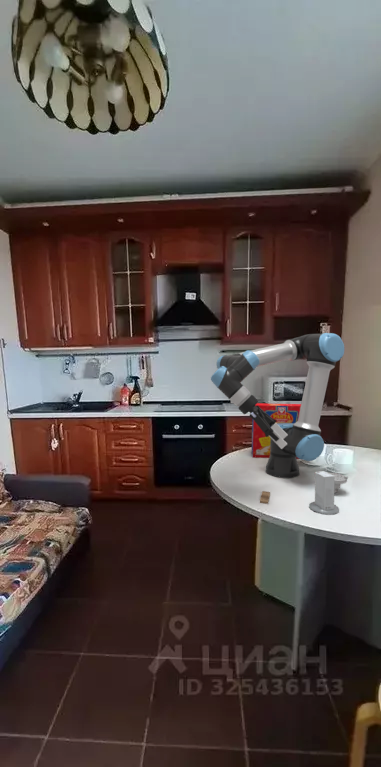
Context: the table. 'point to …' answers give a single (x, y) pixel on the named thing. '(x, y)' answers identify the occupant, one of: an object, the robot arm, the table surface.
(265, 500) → the walnut board
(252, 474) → the table surface
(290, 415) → the pasta box
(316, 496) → the skincare box
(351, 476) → the table surface
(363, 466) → the table surface
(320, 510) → the coaster
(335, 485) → the showerhead
